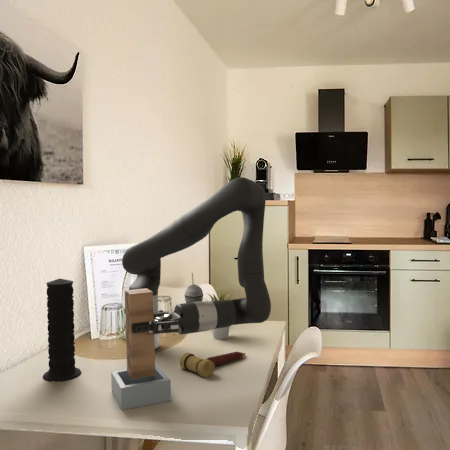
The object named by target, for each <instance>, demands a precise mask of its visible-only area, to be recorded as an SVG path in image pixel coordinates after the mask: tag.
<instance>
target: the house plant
mask: <svg viewBox="0 0 450 450" xmlns="http://www.w3.org/2000/svg"><path fill="white" fill-rule="evenodd" d="M205 294H207V295H208V296H209V297H210V298H211V299H210V301H218V300H231V298H232V295H230V294H229V293H228V294H227V291H222V292H221V294H220V297H219V299H218V298H217V296H216V295H215V294H214V293H213V294H212V295H213V296H212V295H211V294H209V293H207V292H206V293H205ZM226 294H227V296H226ZM229 295H230V296H229ZM203 300H206V298H204V297H203ZM230 327H231V326H229V327H224V328H217V329H211V332H212V333H211V334H212V338H213V339H214V340H218V341H219V340H221V341H222V340H223V341H224V340H226V339H229V333H230Z"/></svg>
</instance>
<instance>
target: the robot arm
mask: <svg viewBox="0 0 450 450" xmlns="http://www.w3.org/2000/svg"><path fill="white" fill-rule="evenodd" d="M237 211H239V212H241V214H242V220H243V233H242V238H241V241H240V243H239V247H238V251H237V276H238V284H239V286H241V287H242V288H244V294H245V297H240V298H234V299H230V300H229V299H228V300H226V299H224V300H220V299H218V301H211V300H210V301H209V300H202V301H201V302H192V303H186V302H184V303H177V304H176V305H175V307H174V310H173V312H169V311H168V310H165V311H164V310H162V309H161V310H159V288H160V284H161V275H162V273H161V272H162V271H161V270H162V269H161V267H162V266H161V265H162V263H161V262H162V260H161V259H162V258H165V257H167V256H169V255H172V254H176V253H178V252H180V251H181V252H182V251H184V250H185V249H188V248H190V247H192V246H193V245H195V244H197V243H199V242H200V241H202V240H203V239H204V238H205V239H206V237H207V236H208V235H209V234H210V232H211V230H212V229H213V228H214V226H215V224H216V223H217V222H218V221H219V220H221V219H222V218H224V217H227V216H228V215H229V214H233V213H235V212H237ZM265 212H266V191H265V189H264V187H263V186H262V184H259V182H256V181H254V180H252V179H249V178H247V177H242V176H241V177H236V178H233V179H231V180H230V181H228V182H227V183H225V184H224V185H223V186H222V187H221V188H220V189H218V190H217V191H216V192H215V193H213V194H212V195H211V196H210V197H208V198H207V199H206V200H204V201H202V202H201V203H200V204H197V205H196V206H195V207H193V208H192V209H190V210H188V211H186V212H185V213H184V214H182V215H181V216H179V217H178V218H176V219H174V220H173V221H172V222H171V223H169V224H168V225H166V226H164V227H163V228H161V229H159V231H157V232H156V233H155V234H153V235H152V236H150V237H148V238H146V239H145V240H142V241H140V242H138V243H137V244H134V245H132V246H129V247H128V248H127V249H126V250H125V251H124V253H123V256H122V260H121V263H122V264H121V265H122V267H123V269H124V270H125V272H127V273H128V274H131V275H136V279H135V280H134V281H133V283H131V284H130V285H129V287H128V290H134V289H145V288H147V289H149V290H151V291H152V292H153V310H154V320H153V321H148V322H140V323H133V324H132V325H131V328H132V333H141V332H148V331H149V332H150V333H152V332H153V334H154V343H155V350H156V349H158V348H159V345H160V344H159V343H160V341H159V340H160V338H159V337H160V336H159V334H168V333H171V334H172V333H178V334H179V335H189V334H194V333H201V332H202V333H204V332H207V331H212V329H217V328H224V327H229V326H230V327H232V326H235V325H246V324H247V325H248V324H261V323H265V322H266V321H267V320H268V319H269V317H270V315H271V312H272V302H271V298H270V293H269V291H268V287H267V284H266V281H265V269H264V268H265V265H264V253H263V251H264V249H263V243H264V242H263V241H264V222H265Z"/></svg>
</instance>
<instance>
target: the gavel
mask: <svg viewBox="0 0 450 450" xmlns="http://www.w3.org/2000/svg"><path fill="white" fill-rule="evenodd" d="M245 356H246V352H241V351H240V352H239V351H233V352H228V353H222V354H220V355H214V356H210V357H207V358H201V357H199V356H196V355H195V354H193V353H190V352H185V353H183V354H182V355H181V357H180V359H179V366H180V368H181V369H184V370H185V371H188V370H189V371H191V372H194V373H196V374H198V375H199V376H200V377H202V378H208V377H211V376H213V374H214V372H215V371H216V370H215V368H216V366H219V365H223V364H227V363H231V362H235V361H239V360H241V359H242V358H243V357H245Z"/></svg>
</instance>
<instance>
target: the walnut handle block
mask: <svg viewBox="0 0 450 450" xmlns="http://www.w3.org/2000/svg"><path fill="white" fill-rule="evenodd" d="M124 309H125V310H124V314H125V315H124V316H125V341H126V344H125V345H126V369H127V372H128V374H129V375H130V376H131V378H132V379H137V378H143V377H149V376H154V375H155V365H156V349H155V343H154V334H153V332H152V333H150V332H149V331H148V332H141V333H132V328H131V325H132V324H133V323H140V322H148V321H153V320H154V310H153V292H152V291H151V290H149V289H147V288H145V289H134V290H129V289H125V290H124Z"/></svg>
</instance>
